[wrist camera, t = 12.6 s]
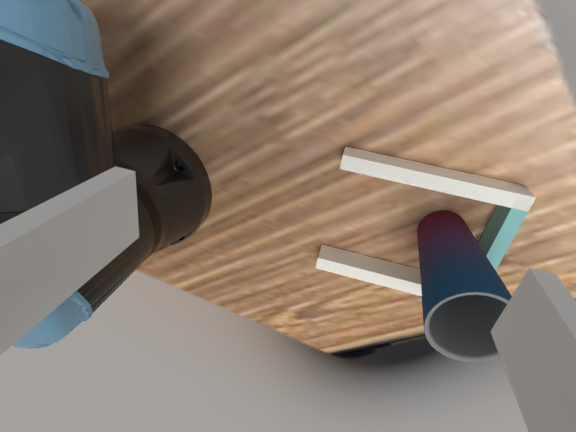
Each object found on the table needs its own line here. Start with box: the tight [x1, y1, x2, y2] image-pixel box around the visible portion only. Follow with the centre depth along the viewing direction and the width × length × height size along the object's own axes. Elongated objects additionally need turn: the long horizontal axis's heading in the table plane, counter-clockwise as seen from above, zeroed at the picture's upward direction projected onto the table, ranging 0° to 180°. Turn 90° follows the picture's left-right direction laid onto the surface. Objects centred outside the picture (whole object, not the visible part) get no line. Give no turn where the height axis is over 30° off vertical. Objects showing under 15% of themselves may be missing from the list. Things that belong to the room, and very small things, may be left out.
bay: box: [316, 146, 536, 296], centre depth 38 cm, size 18×14×3 cm
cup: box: [417, 211, 512, 362], centre depth 32 cm, size 7×7×15 cm
